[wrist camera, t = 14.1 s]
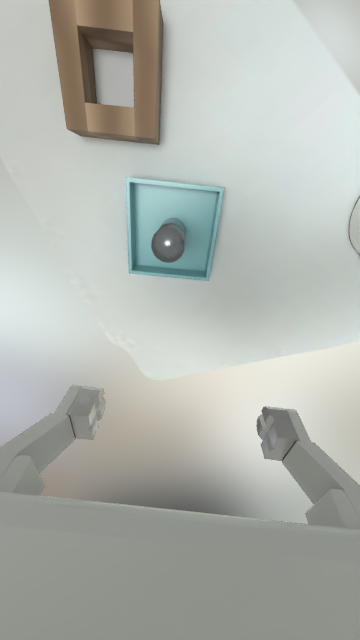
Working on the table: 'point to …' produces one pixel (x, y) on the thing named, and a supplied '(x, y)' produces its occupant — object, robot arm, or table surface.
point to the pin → (169, 241)
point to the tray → (161, 204)
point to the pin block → (112, 34)
